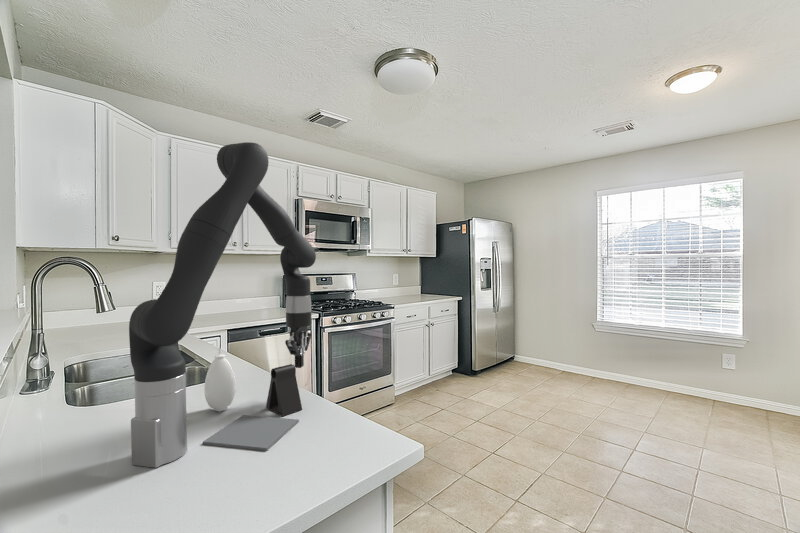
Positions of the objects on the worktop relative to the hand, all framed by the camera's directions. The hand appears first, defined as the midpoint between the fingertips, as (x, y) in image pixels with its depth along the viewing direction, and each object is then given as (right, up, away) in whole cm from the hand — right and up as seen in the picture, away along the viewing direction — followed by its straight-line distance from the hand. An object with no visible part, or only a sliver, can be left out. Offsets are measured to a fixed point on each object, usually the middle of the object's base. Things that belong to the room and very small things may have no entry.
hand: (299, 367), depth 115 cm
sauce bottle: (-19, -10, -10) cm, 24 cm away
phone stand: (-2, -10, -9) cm, 13 cm away
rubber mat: (-5, -10, -23) cm, 26 cm away
